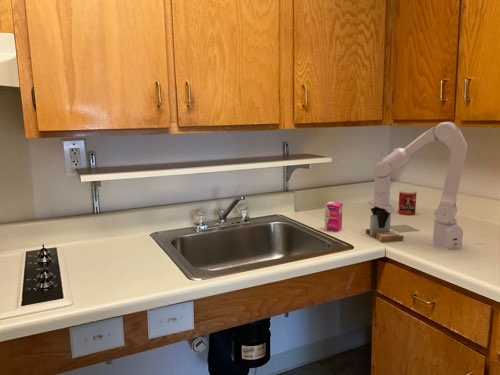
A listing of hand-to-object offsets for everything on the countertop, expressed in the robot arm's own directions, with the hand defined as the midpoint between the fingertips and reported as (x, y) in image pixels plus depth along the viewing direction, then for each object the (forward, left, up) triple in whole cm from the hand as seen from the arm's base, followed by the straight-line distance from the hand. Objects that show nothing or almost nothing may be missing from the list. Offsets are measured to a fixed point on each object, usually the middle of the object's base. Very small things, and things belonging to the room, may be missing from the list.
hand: (380, 227), depth 157 cm
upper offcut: (-6, 0, -2) cm, 6 cm away
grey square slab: (0, 0, -3) cm, 3 cm away
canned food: (+31, -33, -4) cm, 45 cm away
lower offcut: (-6, 0, -3) cm, 6 cm away
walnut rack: (-3, 0, -4) cm, 5 cm away
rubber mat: (+6, -14, -4) cm, 16 cm away
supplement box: (+12, +14, -4) cm, 19 cm away
